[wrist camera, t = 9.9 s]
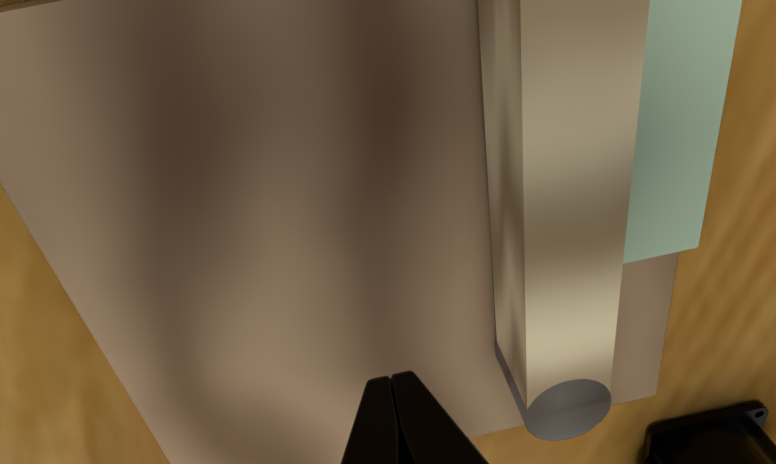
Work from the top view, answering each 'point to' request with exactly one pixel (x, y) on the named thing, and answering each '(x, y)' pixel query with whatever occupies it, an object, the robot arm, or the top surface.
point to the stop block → (678, 122)
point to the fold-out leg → (559, 195)
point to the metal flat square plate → (275, 212)
